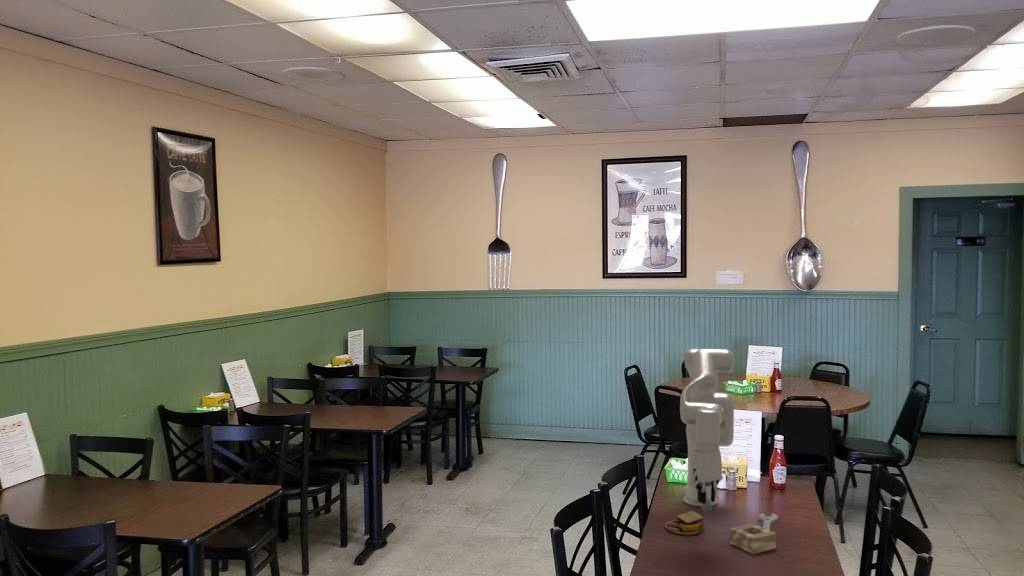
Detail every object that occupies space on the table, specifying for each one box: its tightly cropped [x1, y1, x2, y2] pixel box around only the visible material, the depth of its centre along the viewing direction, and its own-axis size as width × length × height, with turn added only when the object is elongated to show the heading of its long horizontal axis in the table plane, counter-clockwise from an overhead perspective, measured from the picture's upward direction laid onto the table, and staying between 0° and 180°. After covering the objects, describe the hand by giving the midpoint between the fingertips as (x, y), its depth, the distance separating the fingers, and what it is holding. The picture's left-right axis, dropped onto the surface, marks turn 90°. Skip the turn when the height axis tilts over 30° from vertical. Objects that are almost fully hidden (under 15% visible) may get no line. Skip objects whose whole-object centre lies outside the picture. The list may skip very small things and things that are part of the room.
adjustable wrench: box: [757, 513, 779, 531], centre depth 265 cm, size 25×6×2 cm, turn 153°
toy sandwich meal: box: [664, 510, 705, 536], centre depth 263 cm, size 12×14×5 cm
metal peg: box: [700, 481, 712, 512], centre depth 248 cm, size 3×3×10 cm
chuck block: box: [729, 523, 777, 555], centre depth 248 cm, size 10×10×5 cm
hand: (706, 501), depth 248 cm, fingers closed on metal peg, 3 cm apart
